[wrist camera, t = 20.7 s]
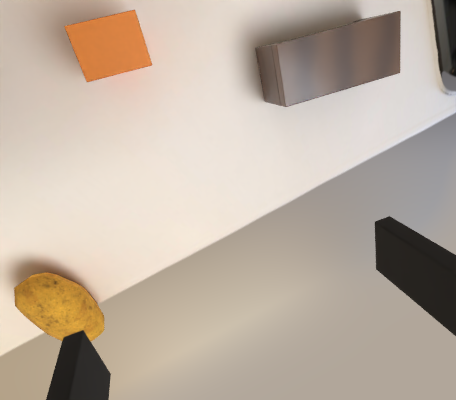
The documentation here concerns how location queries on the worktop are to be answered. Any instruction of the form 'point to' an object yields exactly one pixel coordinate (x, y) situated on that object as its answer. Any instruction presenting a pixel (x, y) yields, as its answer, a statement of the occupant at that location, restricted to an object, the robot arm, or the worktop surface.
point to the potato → (59, 306)
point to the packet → (109, 45)
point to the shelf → (330, 60)
